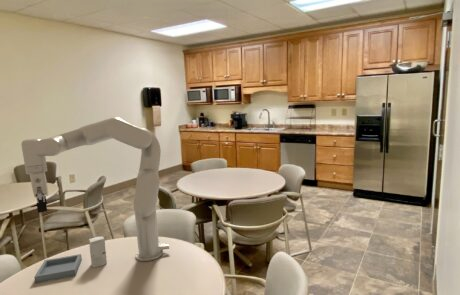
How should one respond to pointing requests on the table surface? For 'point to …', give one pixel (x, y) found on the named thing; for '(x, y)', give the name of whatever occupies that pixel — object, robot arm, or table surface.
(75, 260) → the tray
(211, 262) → the table surface
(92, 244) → the skincare box
